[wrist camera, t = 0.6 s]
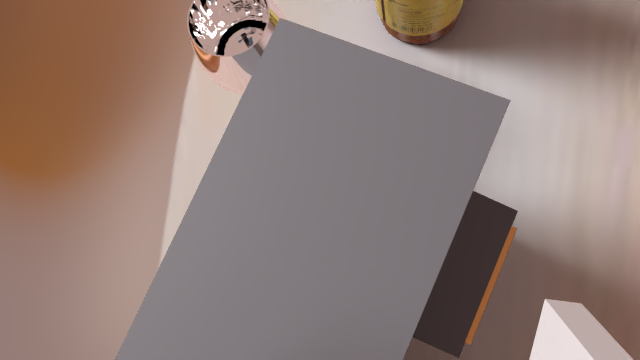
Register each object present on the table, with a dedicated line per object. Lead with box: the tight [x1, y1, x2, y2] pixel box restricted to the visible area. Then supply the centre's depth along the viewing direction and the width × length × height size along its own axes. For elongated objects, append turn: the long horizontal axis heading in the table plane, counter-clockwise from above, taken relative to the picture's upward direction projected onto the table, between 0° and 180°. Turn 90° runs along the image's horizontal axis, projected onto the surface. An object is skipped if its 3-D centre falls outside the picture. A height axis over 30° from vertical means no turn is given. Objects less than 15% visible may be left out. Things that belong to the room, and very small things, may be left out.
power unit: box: [115, 18, 510, 360], centre depth 28 cm, size 20×8×22 cm, turn 155°
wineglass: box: [187, 0, 287, 94], centre depth 37 cm, size 6×6×12 cm
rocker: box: [412, 191, 517, 358], centre depth 27 cm, size 6×2×10 cm, turn 155°
